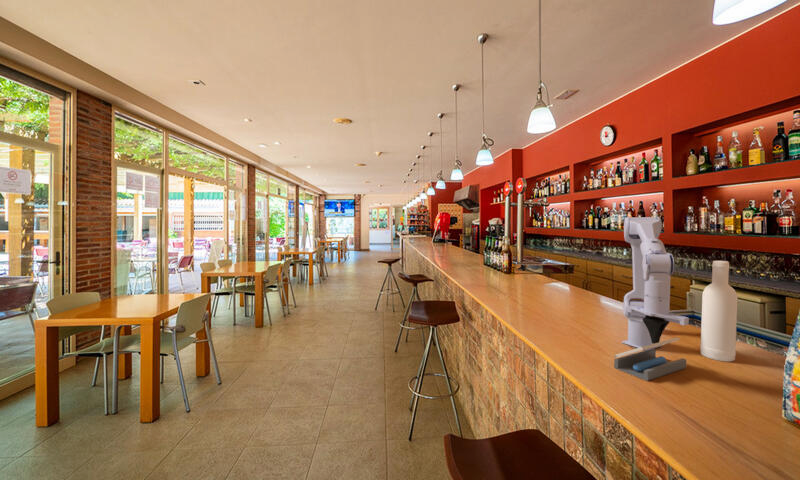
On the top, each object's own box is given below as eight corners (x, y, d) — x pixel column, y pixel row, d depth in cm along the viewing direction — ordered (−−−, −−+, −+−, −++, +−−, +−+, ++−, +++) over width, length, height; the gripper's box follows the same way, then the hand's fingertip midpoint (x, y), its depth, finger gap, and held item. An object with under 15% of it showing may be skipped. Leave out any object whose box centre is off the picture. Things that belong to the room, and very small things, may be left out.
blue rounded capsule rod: (658, 361, 99) (658, 355, 99) (666, 364, 97) (666, 357, 97) (631, 370, 94) (631, 363, 94) (638, 373, 92) (638, 366, 92)
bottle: (734, 356, 103) (738, 260, 101) (736, 364, 97) (740, 263, 95) (700, 349, 108) (703, 259, 107) (699, 357, 103) (703, 261, 101)
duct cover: (650, 348, 103) (649, 345, 103) (679, 340, 96) (677, 337, 96) (615, 357, 96) (613, 355, 97) (643, 349, 89) (641, 347, 90)
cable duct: (651, 356, 103) (652, 348, 103) (686, 368, 95) (686, 359, 95) (614, 367, 96) (614, 359, 96) (647, 381, 88) (647, 371, 88)
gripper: (621, 292, 98) (620, 337, 99) (678, 303, 85) (676, 354, 86) (636, 290, 101) (635, 333, 102) (693, 300, 88) (692, 350, 89)
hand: (655, 342), depth 94 cm, fingers closed, pressing on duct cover
